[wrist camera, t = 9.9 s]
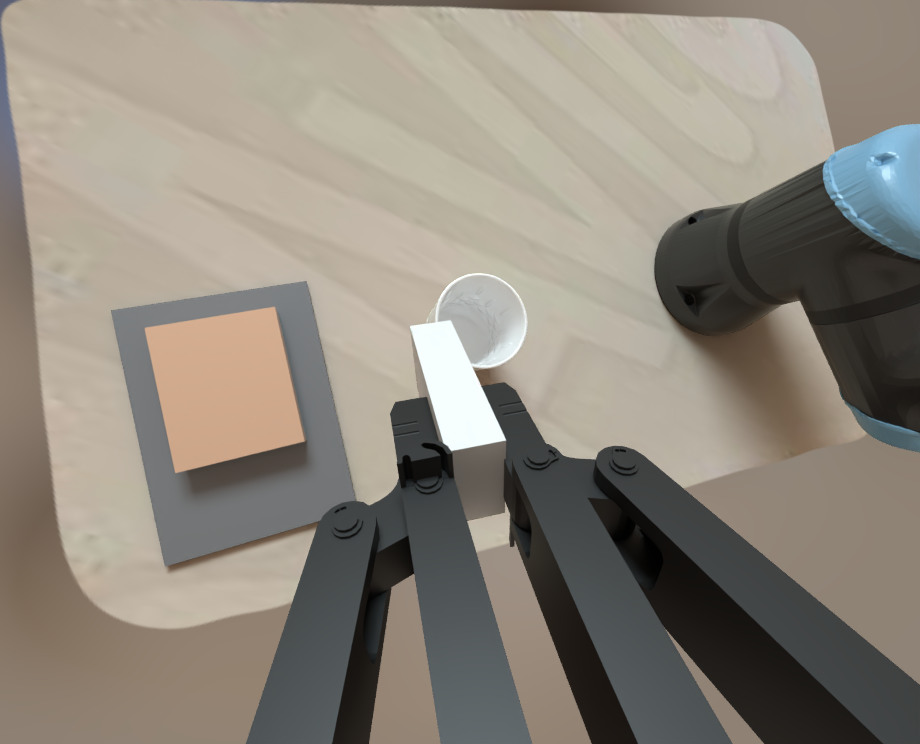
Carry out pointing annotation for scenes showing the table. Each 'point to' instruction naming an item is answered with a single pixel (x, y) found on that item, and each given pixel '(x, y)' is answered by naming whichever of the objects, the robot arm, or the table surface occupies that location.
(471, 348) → the white cup
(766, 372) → the table surface
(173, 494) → the mat
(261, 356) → the tile
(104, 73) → the table surface
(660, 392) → the table surface
